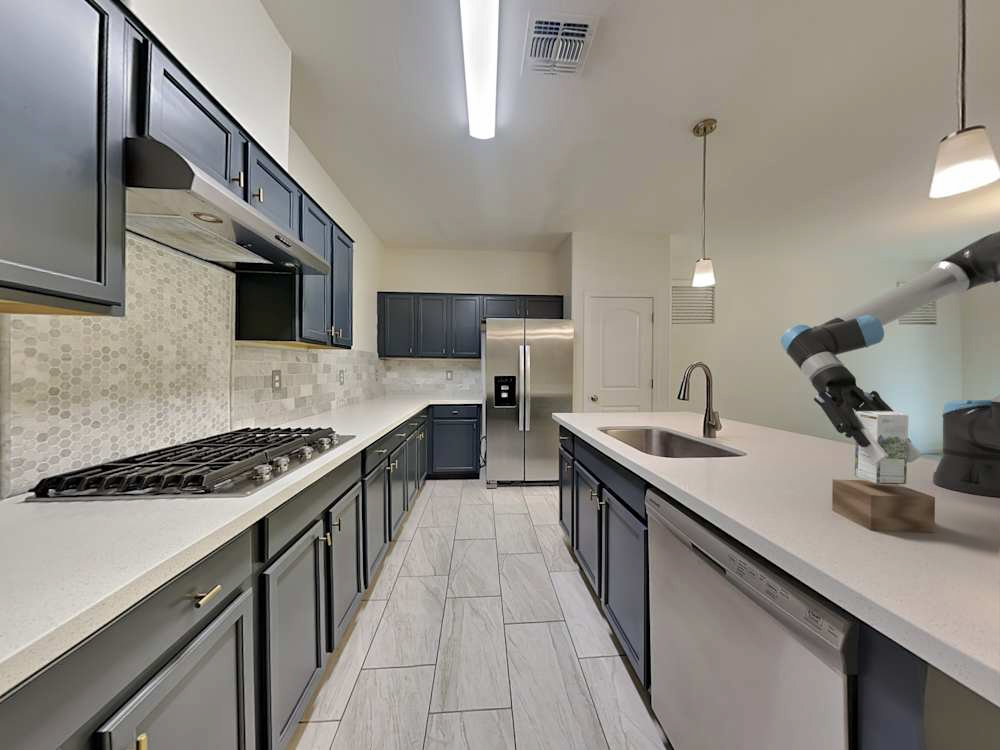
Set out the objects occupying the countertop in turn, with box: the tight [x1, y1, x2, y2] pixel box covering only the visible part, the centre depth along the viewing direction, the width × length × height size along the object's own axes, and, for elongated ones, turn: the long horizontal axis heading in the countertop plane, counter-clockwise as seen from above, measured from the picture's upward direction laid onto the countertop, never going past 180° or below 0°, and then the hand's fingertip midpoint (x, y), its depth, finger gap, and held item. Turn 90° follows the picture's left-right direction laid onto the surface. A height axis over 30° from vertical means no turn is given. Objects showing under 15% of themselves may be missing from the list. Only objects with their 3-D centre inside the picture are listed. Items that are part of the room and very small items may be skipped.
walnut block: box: [831, 479, 936, 534], centre depth 83 cm, size 11×11×7 cm
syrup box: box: [854, 410, 909, 485], centre depth 83 cm, size 6×6×14 cm
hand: (898, 459), depth 79 cm, fingers closed on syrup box, 6 cm apart
